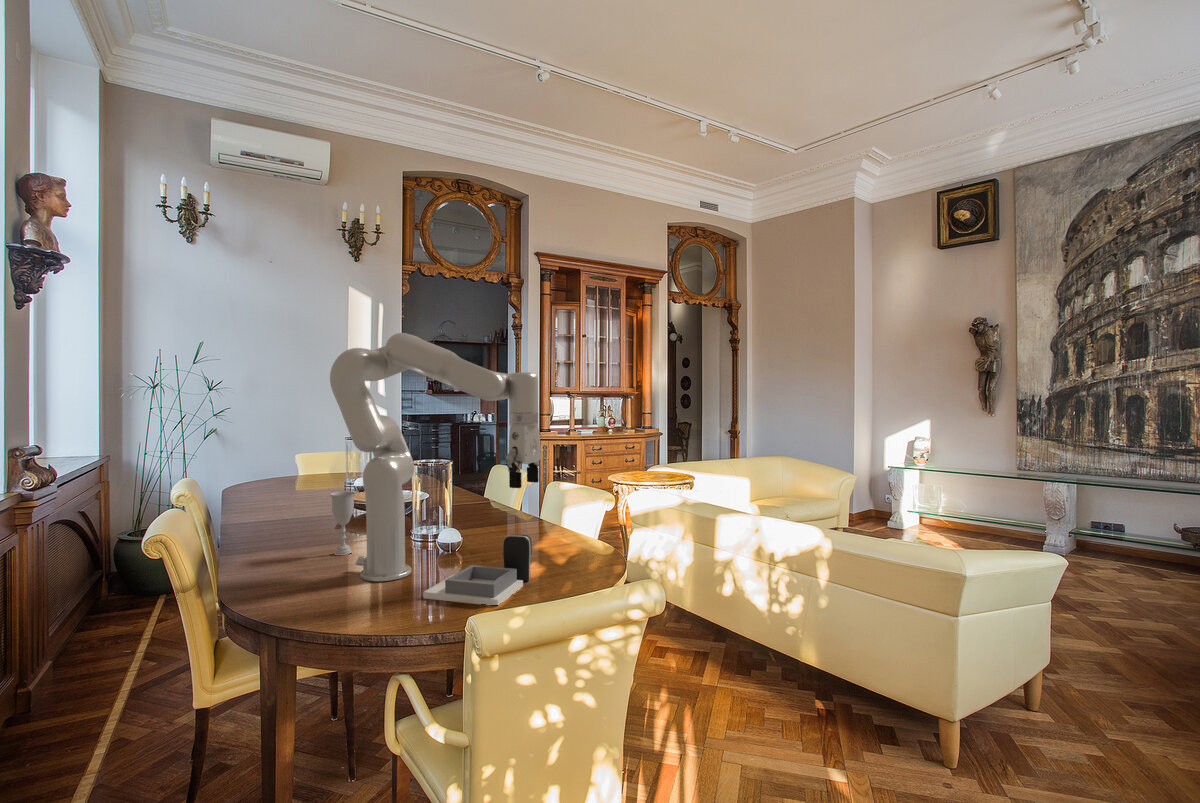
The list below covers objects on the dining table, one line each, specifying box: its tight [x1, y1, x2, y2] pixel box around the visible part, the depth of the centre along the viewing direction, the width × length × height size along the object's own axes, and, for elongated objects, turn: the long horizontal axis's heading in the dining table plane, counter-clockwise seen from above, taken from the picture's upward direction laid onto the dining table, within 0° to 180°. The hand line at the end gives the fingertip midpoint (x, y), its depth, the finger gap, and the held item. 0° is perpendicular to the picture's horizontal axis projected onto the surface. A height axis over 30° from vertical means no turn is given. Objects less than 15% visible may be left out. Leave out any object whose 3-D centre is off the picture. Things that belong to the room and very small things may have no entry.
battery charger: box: [502, 533, 533, 582], centre depth 153 cm, size 7×4×11 cm, turn 81°
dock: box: [422, 564, 524, 606], centre depth 143 cm, size 19×14×4 cm
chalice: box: [329, 490, 356, 554], centre depth 177 cm, size 7×7×18 cm
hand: (524, 484), depth 156 cm, fingers open, 9 cm apart
